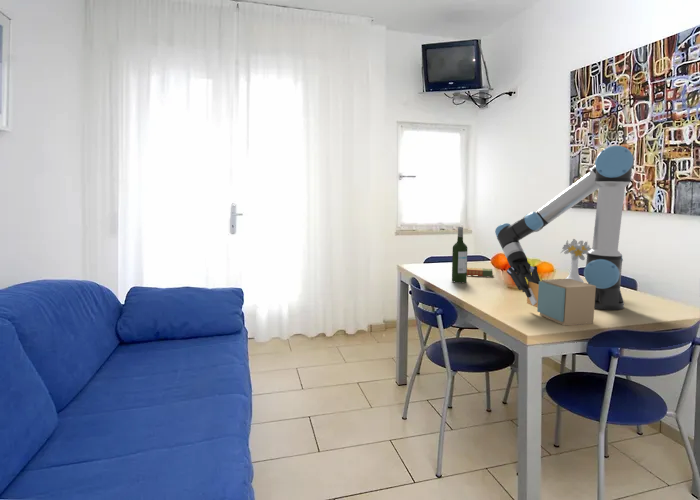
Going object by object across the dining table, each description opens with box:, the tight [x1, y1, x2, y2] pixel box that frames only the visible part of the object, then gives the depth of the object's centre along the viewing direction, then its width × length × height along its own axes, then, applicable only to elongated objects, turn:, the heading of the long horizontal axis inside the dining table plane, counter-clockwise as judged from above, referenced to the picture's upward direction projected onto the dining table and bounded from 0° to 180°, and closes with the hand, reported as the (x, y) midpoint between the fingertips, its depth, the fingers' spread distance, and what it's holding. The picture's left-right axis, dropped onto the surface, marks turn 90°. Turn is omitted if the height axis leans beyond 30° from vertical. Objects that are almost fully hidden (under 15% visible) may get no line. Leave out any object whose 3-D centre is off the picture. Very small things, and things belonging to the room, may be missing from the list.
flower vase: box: [560, 238, 592, 283], centre depth 208 cm, size 13×18×25 cm
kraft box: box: [539, 278, 596, 326], centre depth 160 cm, size 12×14×14 cm
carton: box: [467, 267, 494, 278], centre depth 251 cm, size 8×16×4 cm, turn 73°
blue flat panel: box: [526, 280, 565, 322], centre depth 162 cm, size 1×21×12 cm, turn 11°
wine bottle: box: [451, 226, 468, 283], centre depth 231 cm, size 8×8×30 cm
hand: (537, 303), depth 167 cm, fingers open, 2 cm apart
